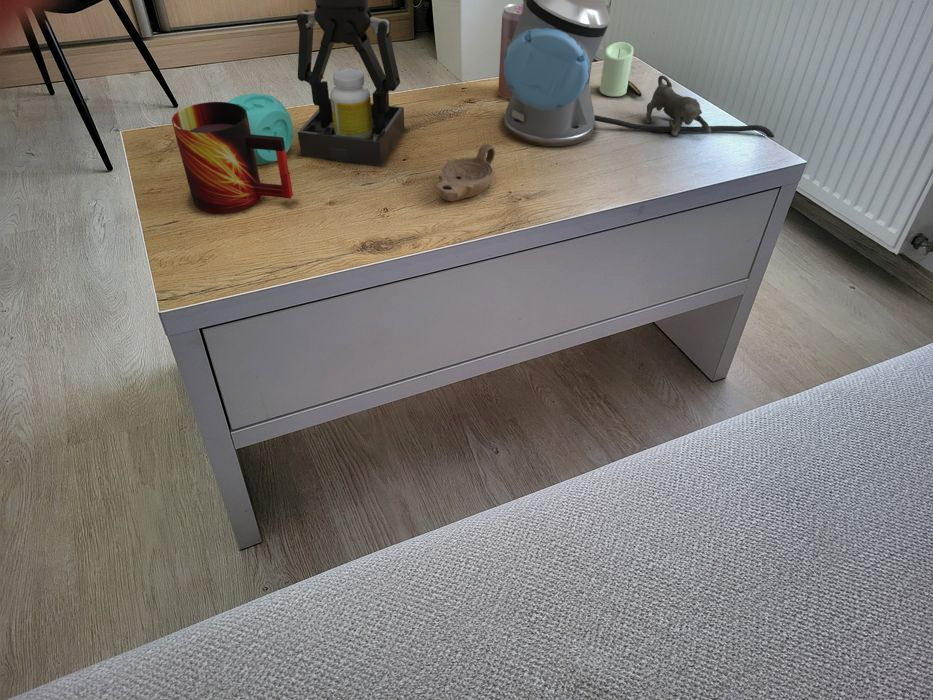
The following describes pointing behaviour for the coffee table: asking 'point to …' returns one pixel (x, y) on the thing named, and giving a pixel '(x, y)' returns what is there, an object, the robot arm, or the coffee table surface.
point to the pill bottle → (351, 105)
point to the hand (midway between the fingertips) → (353, 127)
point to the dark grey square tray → (343, 154)
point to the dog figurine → (675, 107)
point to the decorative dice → (266, 122)
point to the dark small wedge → (634, 89)
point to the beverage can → (507, 42)
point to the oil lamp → (466, 175)
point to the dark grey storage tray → (351, 140)
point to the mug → (225, 158)
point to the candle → (616, 69)
